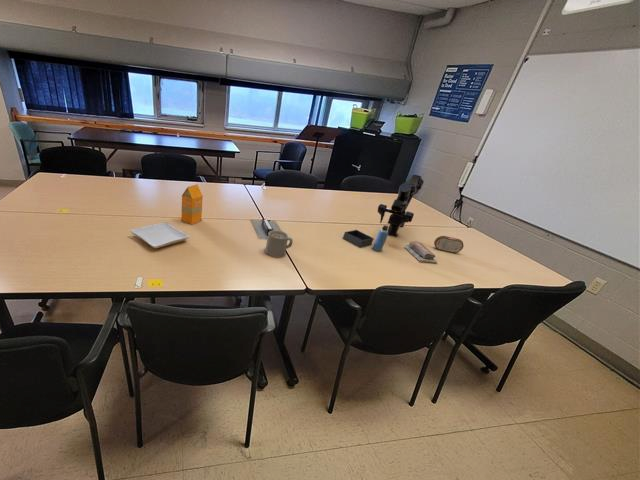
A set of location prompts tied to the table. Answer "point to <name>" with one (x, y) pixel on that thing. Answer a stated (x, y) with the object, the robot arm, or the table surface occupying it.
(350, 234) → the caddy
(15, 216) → the table surface
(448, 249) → the tin
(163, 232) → the salad plate
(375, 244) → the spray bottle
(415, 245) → the packaged product
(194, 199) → the orange juice
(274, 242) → the coffee mug
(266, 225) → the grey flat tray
